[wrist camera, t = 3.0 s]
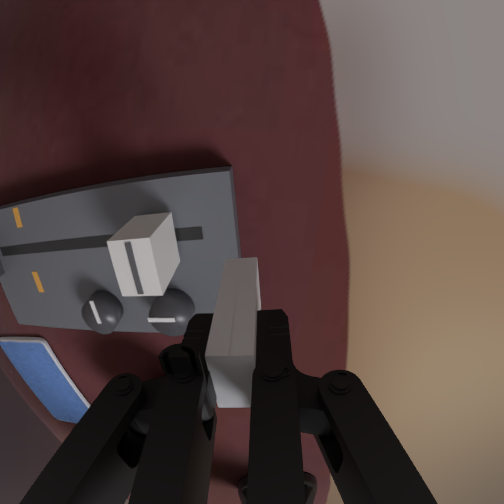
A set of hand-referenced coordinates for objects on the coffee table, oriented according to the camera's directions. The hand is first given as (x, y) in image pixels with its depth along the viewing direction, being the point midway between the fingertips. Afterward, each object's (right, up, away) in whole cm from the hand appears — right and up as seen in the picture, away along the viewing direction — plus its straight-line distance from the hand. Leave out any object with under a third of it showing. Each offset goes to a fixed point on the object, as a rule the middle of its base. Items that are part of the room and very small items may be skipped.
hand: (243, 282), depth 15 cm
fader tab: (-7, +2, +8) cm, 11 cm away
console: (-15, +1, +12) cm, 19 cm away
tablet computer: (-31, -19, +22) cm, 42 cm away
